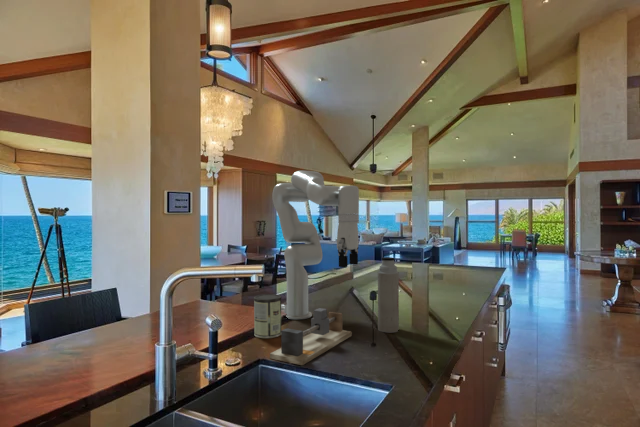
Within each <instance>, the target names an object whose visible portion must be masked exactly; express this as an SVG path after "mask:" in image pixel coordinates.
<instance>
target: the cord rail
mask: <svg viewBox="0 0 640 427" xmlns="http://www.w3.org/2000/svg"><path fill="white" fill-rule="evenodd" d="M328 318H329V333H327V334H325V335H319V334H313V333H311V332H312V331H314V330H316V329H318V328H320V324H318V325H316V326H314V327H312V328H311V327H310V328H308V329H306V330H299V329H295V328H294V329H293V328H284V329H281V335H280V336H281V337H280V338H281V341H280V342H281V347H280V348H278V349H276V350H274V351H272V352H270V353H269V359H270V360H271V359H272V360H276V361H281V362H285V363H291V364H295V365H297V366H298V365H300V366H304V365H305V364H308V363H309V362H310V361H313V360H314V359H315V358H317V357H319V356H320V355H323V354H324V353H325V352H327V351H328V350H331V349H332V348H334V347H336V346H337V345H339V344H340V343H342V342H344V341H345V340H347V339H349V338H351V337H352V336H353V332H352V331H351V330H344V329H343V312H336V311H329V312H328Z"/></svg>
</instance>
